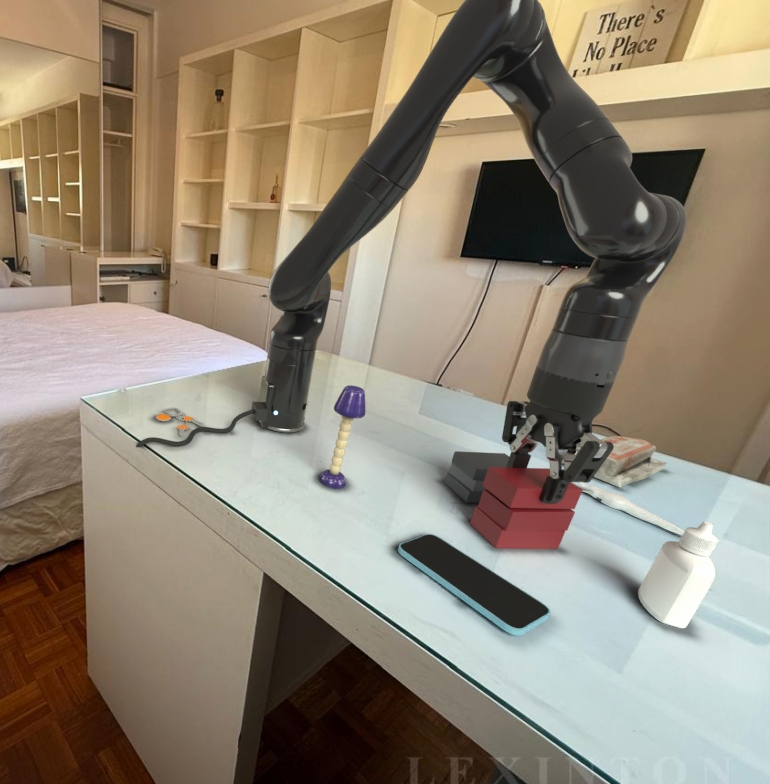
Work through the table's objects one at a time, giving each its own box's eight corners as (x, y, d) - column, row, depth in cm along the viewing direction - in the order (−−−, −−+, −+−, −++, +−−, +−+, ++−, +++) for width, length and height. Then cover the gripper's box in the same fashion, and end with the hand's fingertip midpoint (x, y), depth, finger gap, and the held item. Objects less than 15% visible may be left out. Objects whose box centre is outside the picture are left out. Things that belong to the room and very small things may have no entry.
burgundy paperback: (510, 508, 59) (517, 488, 58) (482, 485, 64) (488, 466, 63) (574, 509, 59) (583, 489, 58) (542, 486, 65) (549, 468, 63)
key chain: (149, 413, 96) (149, 409, 96) (178, 408, 100) (179, 404, 100) (178, 437, 86) (178, 433, 86) (210, 431, 90) (210, 427, 89)
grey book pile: (466, 503, 71) (477, 469, 69) (442, 481, 77) (452, 450, 75) (522, 504, 72) (534, 471, 70) (494, 482, 78) (505, 451, 76)
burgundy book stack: (496, 549, 61) (510, 512, 59) (469, 523, 66) (481, 487, 64) (561, 550, 61) (577, 513, 59) (529, 524, 67) (542, 489, 65)
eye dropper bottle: (629, 608, 52) (675, 521, 48) (639, 587, 56) (683, 504, 51) (683, 635, 49) (737, 544, 45) (690, 611, 52) (741, 525, 48)
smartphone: (431, 532, 62) (555, 610, 49) (429, 538, 62) (552, 618, 50) (395, 545, 59) (517, 633, 46) (393, 552, 59) (514, 641, 47)
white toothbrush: (571, 489, 77) (575, 480, 76) (580, 487, 78) (584, 477, 77) (689, 546, 64) (695, 535, 63) (698, 542, 65) (704, 531, 64)
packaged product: (632, 465, 76) (564, 440, 85) (620, 490, 78) (555, 463, 86) (676, 447, 84) (610, 426, 92) (665, 470, 86) (601, 447, 94)
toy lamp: (349, 479, 76) (369, 385, 70) (349, 493, 72) (370, 395, 66) (319, 473, 77) (337, 380, 71) (318, 486, 73) (336, 389, 67)
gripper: (504, 352, 62) (469, 462, 68) (600, 389, 48) (546, 521, 54) (555, 355, 62) (516, 463, 68) (664, 391, 49) (604, 522, 55)
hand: (530, 488), depth 61 cm, fingers closed on burgundy paperback, 5 cm apart
